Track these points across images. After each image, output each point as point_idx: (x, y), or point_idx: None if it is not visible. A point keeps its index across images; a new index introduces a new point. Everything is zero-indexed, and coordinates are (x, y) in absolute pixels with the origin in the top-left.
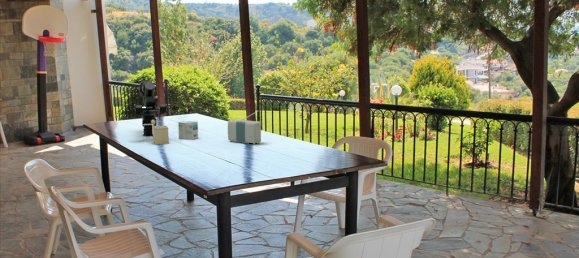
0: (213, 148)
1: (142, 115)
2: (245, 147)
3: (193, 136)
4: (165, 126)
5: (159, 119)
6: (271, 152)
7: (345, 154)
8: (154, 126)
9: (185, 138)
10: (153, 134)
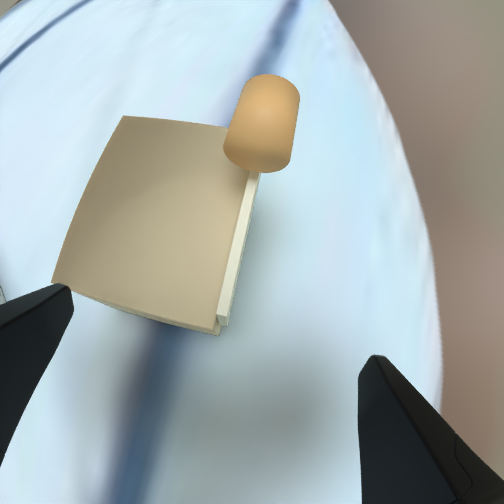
0: (86, 43)
1: (442, 418)
2: (27, 46)
3: None
4: (82, 228)
5: (72, 300)
6: (51, 8)
7: (16, 4)
8: (195, 308)
9: (3, 300)
10: (253, 206)
